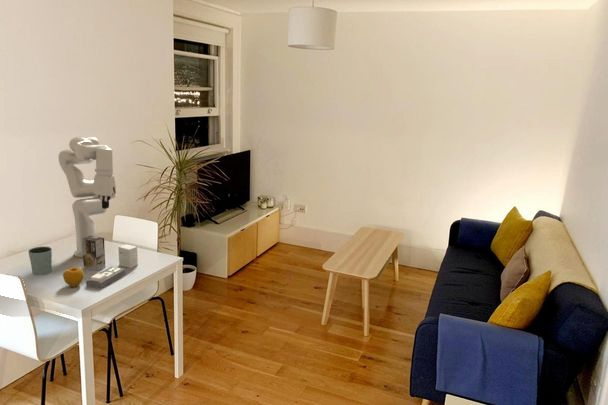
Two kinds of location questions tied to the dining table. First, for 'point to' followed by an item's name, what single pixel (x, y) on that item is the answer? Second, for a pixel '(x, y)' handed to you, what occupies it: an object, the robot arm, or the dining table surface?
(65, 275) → the apple
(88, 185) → the robot arm
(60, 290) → the dining table surface
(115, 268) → the key
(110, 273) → the key middle
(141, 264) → the dining table surface
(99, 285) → the keypad housing
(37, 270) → the green cup
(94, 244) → the coffee box
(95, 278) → the key
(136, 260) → the small box
